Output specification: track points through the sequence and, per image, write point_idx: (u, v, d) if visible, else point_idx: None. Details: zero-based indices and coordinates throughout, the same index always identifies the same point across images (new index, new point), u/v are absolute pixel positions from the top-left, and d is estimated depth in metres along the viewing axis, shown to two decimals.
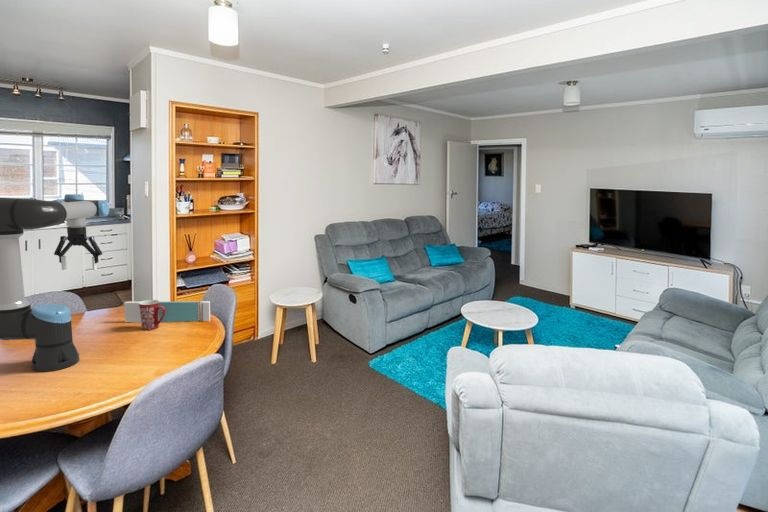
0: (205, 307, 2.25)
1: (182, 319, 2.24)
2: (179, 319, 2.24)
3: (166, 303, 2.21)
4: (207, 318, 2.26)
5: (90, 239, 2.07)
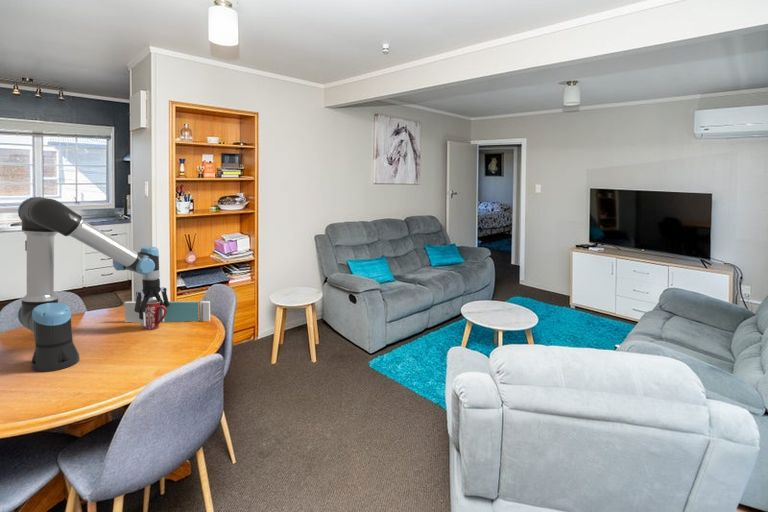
0: (205, 307, 2.25)
1: (182, 319, 2.24)
2: (179, 319, 2.24)
3: None
4: (207, 318, 2.26)
5: (165, 290, 2.14)
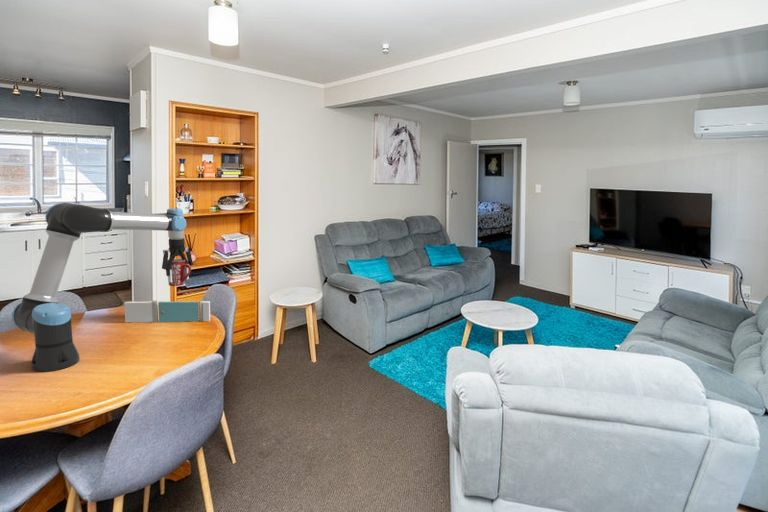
0: (205, 307, 2.25)
1: (182, 319, 2.24)
2: (179, 319, 2.24)
3: (166, 303, 2.21)
4: (207, 318, 2.26)
5: (189, 250, 2.29)
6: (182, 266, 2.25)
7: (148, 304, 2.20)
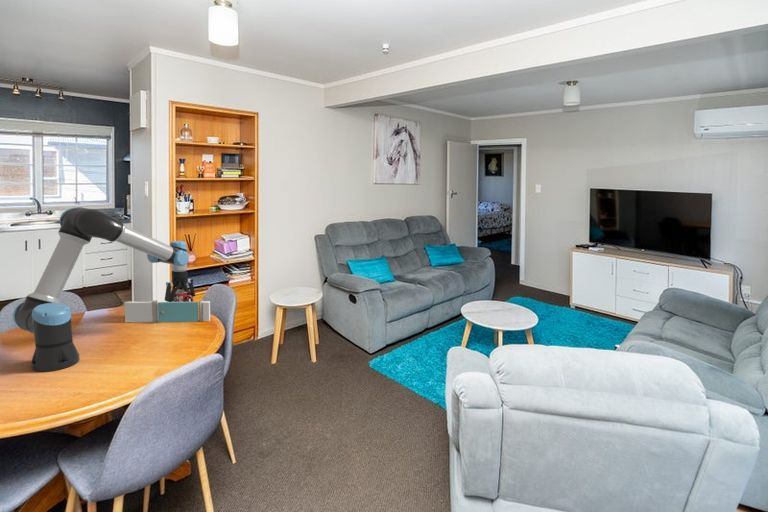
0: (205, 307, 2.25)
1: (182, 319, 2.23)
2: (179, 319, 2.23)
3: (166, 304, 2.20)
4: (207, 318, 2.26)
5: (191, 281, 2.31)
6: (184, 297, 2.28)
7: (148, 304, 2.20)
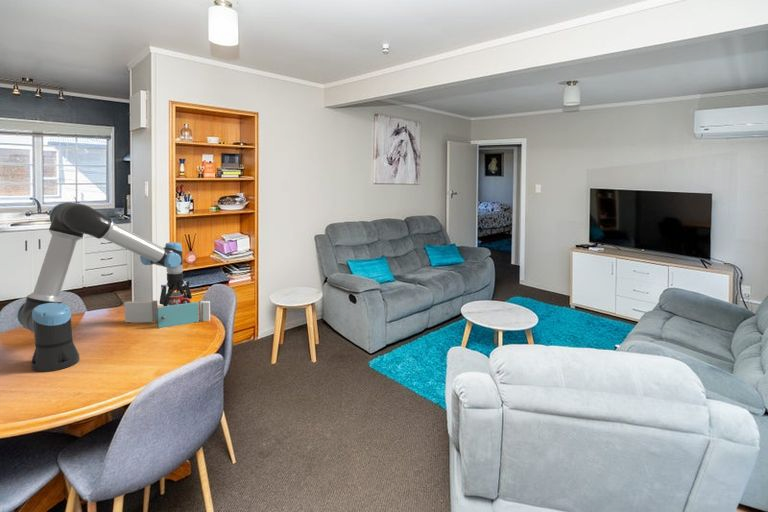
0: (205, 307, 2.25)
1: (183, 322, 2.20)
2: (180, 322, 2.19)
3: (167, 308, 2.14)
4: (207, 318, 2.26)
5: (188, 283, 2.25)
6: (181, 301, 2.21)
7: (148, 304, 2.20)
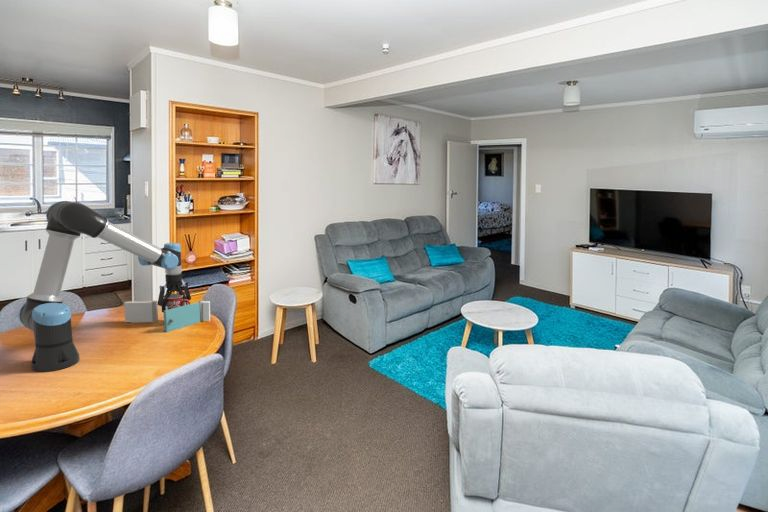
0: (205, 307, 2.25)
1: (187, 323, 2.18)
2: (184, 324, 2.17)
3: (173, 310, 2.10)
4: (207, 318, 2.26)
5: (186, 284, 2.22)
6: (181, 302, 2.19)
7: (148, 304, 2.20)
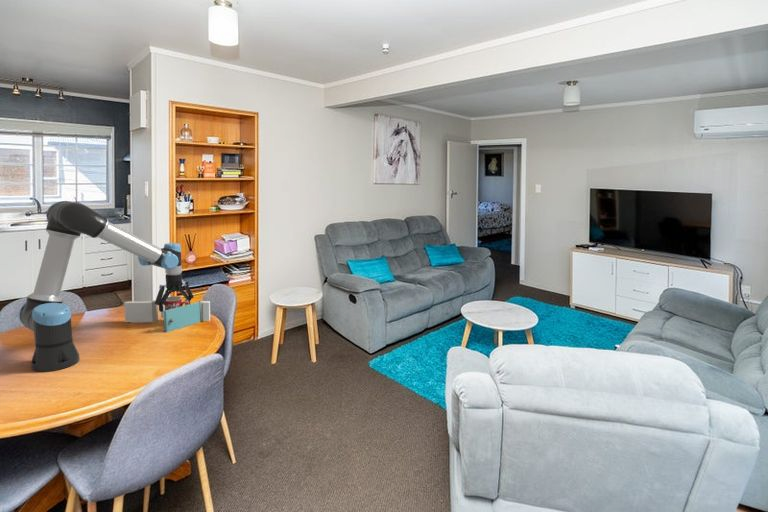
0: (205, 307, 2.25)
1: (187, 323, 2.18)
2: (184, 324, 2.17)
3: (173, 310, 2.10)
4: (207, 318, 2.26)
5: (187, 284, 2.22)
6: (181, 304, 2.19)
7: (148, 304, 2.20)
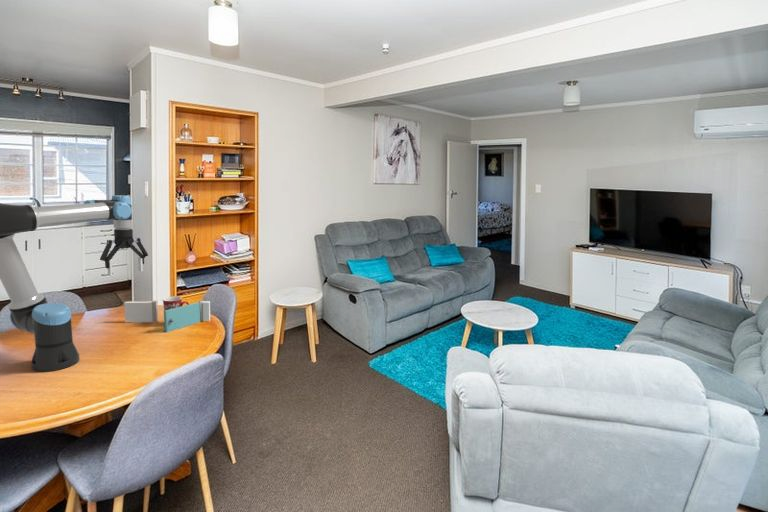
0: (205, 307, 2.25)
1: (187, 323, 2.18)
2: (184, 324, 2.17)
3: (173, 310, 2.10)
4: (207, 318, 2.26)
5: (139, 240, 2.05)
6: (181, 304, 2.19)
7: (148, 304, 2.20)
